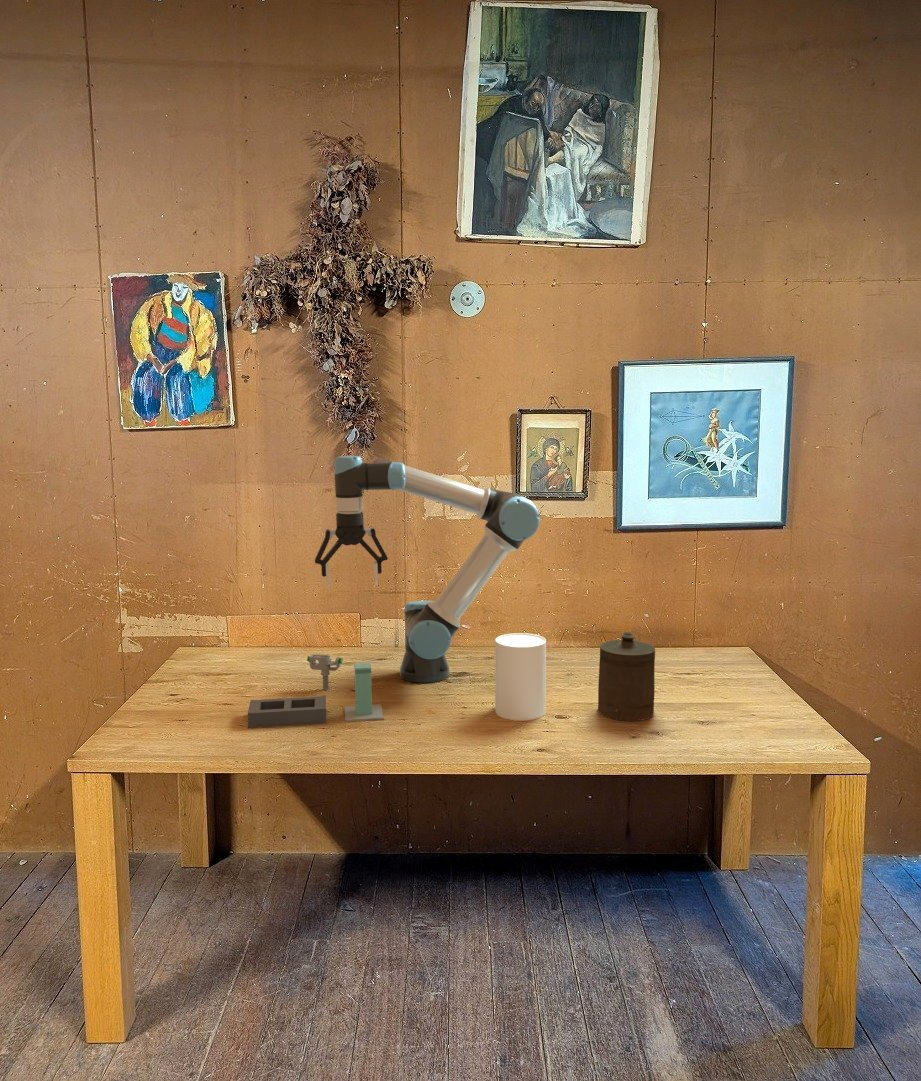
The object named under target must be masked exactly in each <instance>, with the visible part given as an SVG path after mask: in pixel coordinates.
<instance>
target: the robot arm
mask: <svg viewBox="0 0 921 1081" xmlns="http://www.w3.org/2000/svg"><path fill="white" fill-rule="evenodd" d="M333 474H334V493H335V511H336V512H337V513H336V514H335V519H336V521H335V522H336V524H335V525H336V529H335V530H330V529H329V528H328V529H325V532H324V538H323V540H322V543H321V545H320V547H319V549H318V551H317V554H316V556H315V558H314V563H315V564H317V565H320V566H321V568H320V569H321V576H322V577H323V578H324V577H325V586H326V589H329V590H330V573H329V572H330V568H329V567H330V566H329V564H328V563H329V561H330V560H331V559H332V557H333V556H334V554H336V552H337V551H338V550H339V549H340V548H341V546H342V545H345V546H351V545H352V546H357V545H359V544H360V545H361V546H362V548H364V549H365V550H366V552H367V553H368V554H369V555H371V557H372V558H373V559H374V560H375V561H373V573H374V574H373V575H374V576H373V578H374V586H375V587H379V576H378V575H381V574H382V572H383V571H382V562H385V561H387V560H388V556H387V554H386V552H385V550H384V548H383V547H382V545H381V543H380V541H379V539H378V538H377V535H376V529H375V527H373V526H372V527H370V528H365V525H364V512H363V511H364V500H363V499H364V494H363V491H369V490H370V491H374V490H376V491H377V490H378V491H379V490H383V491H385V490H386V491H389V490H391V491H394V490H397V491H400V492H404V493H406V494H411V495H412V496H416V497H420V498H422V499H426V500H429V501H433V502H436V503H439V504H443V505H446V506H449V507H452V508H456V509H459V510H462V511H465V512H469V513H472V514H475V515H476V516H477V518H478V519H479V520H482V521H483V520H484V521H486V523H485V525H484V526H483V527H484V534H483V536H482V538H481V539H480V540H479V541H478V543H477V544H476V546H475V547H474V548H473V550H472V551H471V553H469V555H468V556H467V557H466V559H465V560H464V562H463V564H461V566H460V567H459V568H458V570H457V571H456V572H455V574H454V575H453V576H452V578H451V579H450V581H449V582H448V583H447V585H446V586H445V587H444V589H443V590H442V591H441V593H440V594H439V596H438V597H437V598H436V600H416V601H415V600H414V601H409V602H407V603H405V604H404V612H403V613H404V643H405V644H404V648H405V649H404V650H405V651H404V655H403V658H402V660H401V664H400V668H399V677H400V678H401V679H402V680H405V681H407V682H410V683H411V682H412V683H423V684H424V683H425V684H426V683H435V682H440V681H443V680H445V679H447V678H449V677H450V666H449V663H448V660H447V656H446V653H447V652H448V650H449V649H450V646H451V643H452V638H453V637H454V636H455V634H456V633H457V631H458V630H459V629H460V627H461V623H460V622H461V621H460V620H461V617H462V616H463V614H464V613H465V612H466V611H467V609H468V607H470V605H471V604H472V603H473V601H474V600H475V598H476V597H477V596H478V594H479V593H480V591H481V590H482V589H483V588H484V586H485V585H486V584H487V583H488V581H489V580H490V578H491V577H492V575H494V573H495V572H496V570H497V569H498V568H499V566H500V565H501V564H502V563H503V561H504V560H505V558H506V557H507V556H508V555H509V553H510V552H515V551H518V550H519V548H520V547H521V546H522V545H523V543H524V541H527V540H528V539H530V538H531V537H533V536H534V535H535V534H536V532H537V531H538V529H539V526H540V522H541V519H540V517H541V516H540V512H539V510H538V508H537V506H536V505H535V503H534V502H532V500H531V499H528V498H527V497H525V496H523V495H521V494H518V493H515V492H510V491H503V490H498V489H494V488H492V487H486V488H483V489H482V488H480V487H476V486H473V485H469V484H466V483H463V482H460V481H456V480H454V479H451V478H447V477H443V476H442V475H441V476H440V475H437V474H434V473H431V472H427V471H424V470H421V469H418V468H415V467H412V466H411V467H410V466H408V465H405V464H404V463H403V462H396V461H391V460H390V459H388V458H385V457H382V458H380V457H379V458H377V459H376V460H374V461H373V462H363V459H362V457H361V456H359V455H341V456H337V457H336V458H334V473H333ZM366 534H367V536H368V537H371V539H372V540H373V542H374V544H375V546H376V548H377V550H378V552H379V553H380V556H379V555H378V554H377V553H376V551H374V550H373V549H372V547H370V545H369V544H368V543H367V542H366V541H365V540H364V539H363V538H364V537H365V535H366ZM334 536H336V538H337V541H336V542H335V543H334V545H333V546H332V547H331V548H330V549H329V551H328V552H327V553H326V554H325V556H324V557H323V555H324V553H325V551H326V548H327V546H328V544H329V542H330V539H332V538H334Z"/></svg>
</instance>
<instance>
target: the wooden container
mask: <svg viewBox="0 0 921 1081" xmlns="http://www.w3.org/2000/svg"><path fill="white" fill-rule="evenodd" d="M635 638H636V637H635V635H634V633H632V632H630V631H626V632H624V633H622V634H621V639H612V640H606V641H604V642H602V643H601V644H600V646H599V662H598V663H599V667H598V668H599V669H598V685H597V686H598V687H597V693H598V694H597V695H598V696H597V698H598V699H597V700H598V701H597V702H598V705H597V709H598V710H597V711H598V713H600V714H601V716H604V717H605V718H608V719H612V720H615V721H622V722H637V721H644V720H648V719H650V718H651V717H653V715H654V712H655V691H656V690H655V688H656V686H655V670H656V668H655V667H656V665H655V664H656V663H655V659H656V648H655V646H654V645H652V644H650V643H648V642H645V641H641V640H635Z"/></svg>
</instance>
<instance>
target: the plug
mask: <svg viewBox="0 0 921 1081" xmlns="http://www.w3.org/2000/svg"><path fill="white" fill-rule="evenodd" d="M353 665H354V666H353V667H354V693H355V694H354V695H355V696H354V697H355V702H354V703H355V706H356V715H370V714H372V705H373V698H372V694H373V693H372V667H371V662H360V663H357V662H356V663H354V664H353Z"/></svg>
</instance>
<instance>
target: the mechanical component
mask: <svg viewBox="0 0 921 1081" xmlns="http://www.w3.org/2000/svg"><path fill="white" fill-rule="evenodd" d="M335 658H336V659H335V660H333V661H332V658H331V655H329V654H314V653H313V654H311V655H308V656H307V658H306V661H307V662H308V663H309V667H310V669H311V670H315V671H320V675H321V676H322V690H323V691H328V690H329V687H330V686H329V675H330V674H331V673H330V671H331V672H335V671H337V670H338V669H339V668H340V667H341V666H342V664H343V661H344V660H343V658H342V657H340V656H336V657H335ZM317 661H318V662H317Z"/></svg>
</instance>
